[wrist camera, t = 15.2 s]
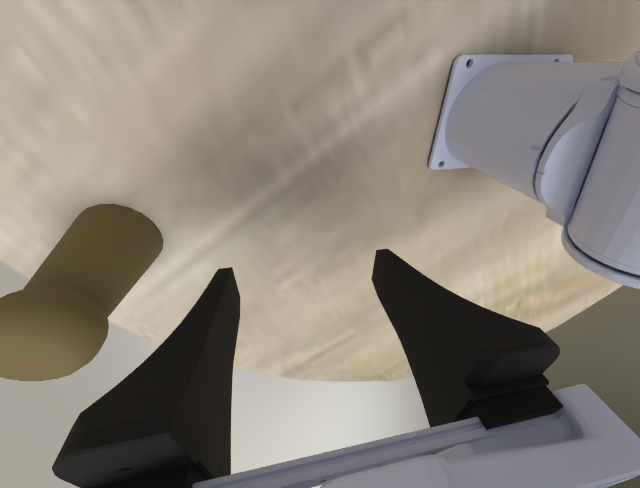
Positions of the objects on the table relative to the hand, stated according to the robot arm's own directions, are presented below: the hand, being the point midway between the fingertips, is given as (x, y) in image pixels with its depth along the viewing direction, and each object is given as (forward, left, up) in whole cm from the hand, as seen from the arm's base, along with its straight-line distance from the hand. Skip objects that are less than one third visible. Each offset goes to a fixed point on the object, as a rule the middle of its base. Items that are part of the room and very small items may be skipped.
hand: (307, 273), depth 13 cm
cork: (+14, +3, -11) cm, 18 cm away
